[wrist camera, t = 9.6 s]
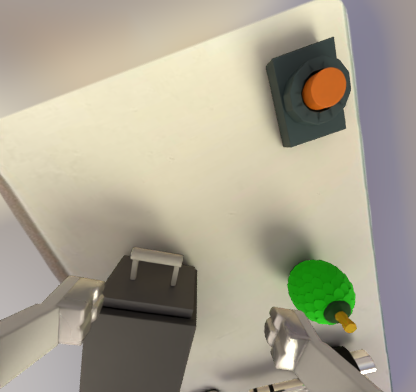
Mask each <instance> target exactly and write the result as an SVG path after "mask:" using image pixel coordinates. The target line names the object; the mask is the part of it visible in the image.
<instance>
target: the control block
mask: <svg viewBox="0 0 416 392" xmlns="http://www.w3.org/2000/svg"><path fill="white" fill-rule="evenodd" d="M329 67H333V68H337V69H339V70H340V71H341V72H342V73H343V74H344V76H345V79H346V89H345V93H344V95H343V97H342V98H341V99H340V101H339V102H337V103H336V104H335V105H333V106H330V107H327V108H323V109H320V110H313V109H310V108H309V107H307V106H306V104H305V103H304V101H303V96H302V92H303V88H304V85H305V83H306V82H307V80H308V79H309V78H310V77H312V76H313V75H315V74H316V73H318V72H320V71H321V70H323V69H325V68H329ZM266 70H267V75H268V79H269V84H270V88H271V93H272V97H273V102H274V106H275V111H276V115H277V120H278V124H279V129H280V133H281V138H282V142H283V147H294V146H297V145H300V144H302V143H305V142H308V141H311V140H314V139H317V138H320V137H323V136H326V135H329V134H332V133H335V132H338V131H340V130H343V129H346V124H345V117H344V110H343V108H344V107H345V105H346V102H347V100H348V97H349V94H350V91H351V85H350V77H349V71H348V70H347V69H346V68H345V66H344V65H343V64H342V62H341V61H340V60H339V59H337V57H336V50H335V42H334V37H331V38H328V39H326V40H323V41H320V42H317V43H315V44H312V45H309V46H306V47H304V48H301V49H298V50H295V51H293V52H290V53H287V54H284V55H282V56H279V57H276V58H273V59H272V60H271V61H270V62H269V63H268V65H267V66H266Z"/></svg>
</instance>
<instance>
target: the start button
mask: <svg viewBox="0 0 416 392" xmlns="http://www.w3.org/2000/svg"><path fill="white" fill-rule="evenodd" d="M345 89H346V79H345V76H344V74H343V73H342V72H341V71H340V70H339V69H337V68H333V67H329V68H325V69H323V70H321V71H320V72H318V73H316V74H315V75H313V76H312V77H310V78H309V79H308V80H307V82H306V83H305V85H304V88H303V92H302V96H303V101H304V103H305V104H306V106H307V107H309V108H310V109H313V110H320V109H323V108H327V107H330V106H333V105H335V104H336V103H337V102H339V101H340V99H341V98H342V97H343V95H344V93H345Z"/></svg>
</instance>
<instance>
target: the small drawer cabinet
mask: <svg viewBox="0 0 416 392" xmlns="http://www.w3.org/2000/svg"><path fill="white" fill-rule="evenodd" d="M121 260H122V259H121ZM121 260H120V261H121ZM119 263H120V262H119ZM119 263H118V264H119ZM117 266H118V265H117ZM117 266H116V267H117ZM115 269H116V268H115ZM115 269H114V270H115ZM112 273H113V272H112ZM110 276H111V275H110ZM110 276H109V277H110ZM108 279H109V278H108ZM108 279H107V280H108ZM106 282H107V281H106ZM196 314H197V270H195V275H194V304H193V313H192V317H191V318H187V317H184V318H176V317H169V316H162V315H154V314H147V313H139V312H132V311H124V310H117V309H110V308H106V306H102V308H101V311H100V313H99V315H98V317H97V319H96V320H95V321H93V322H92V323H91V327H90V331H89V333H88V334H87V336H86V338H85V339H84V341H83V351H82V364H81V377H80V392H180V388H181V384H182V380H183V376H184V372H185V368H186V365H187V361H188V357H189V353H190V349H191V345H192V341H193V337H194V333H195V329H196Z"/></svg>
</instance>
